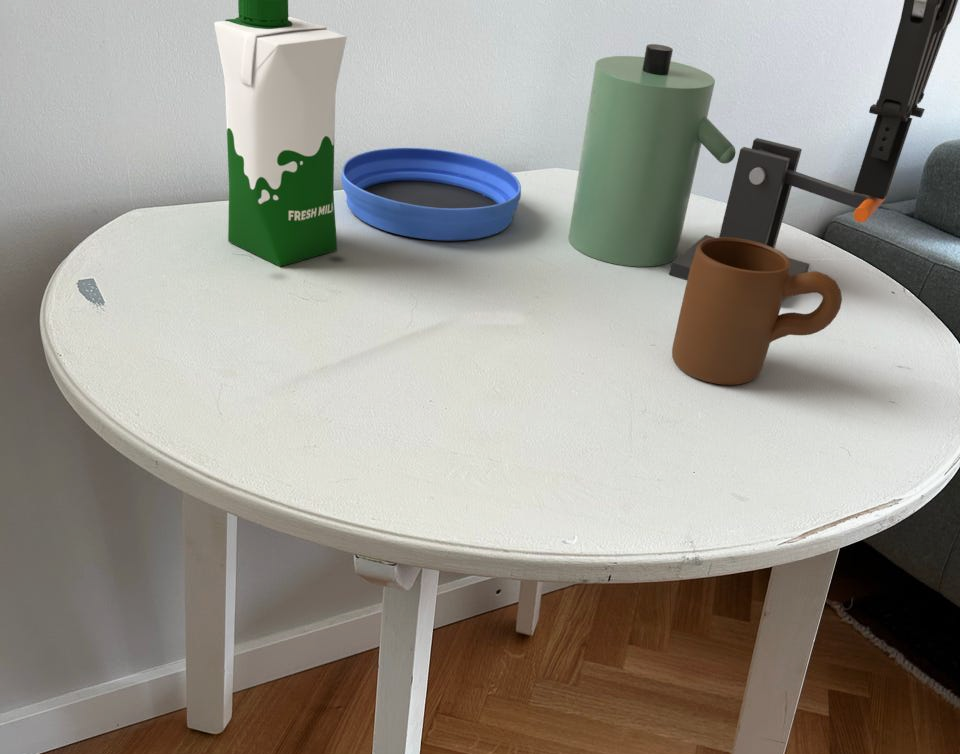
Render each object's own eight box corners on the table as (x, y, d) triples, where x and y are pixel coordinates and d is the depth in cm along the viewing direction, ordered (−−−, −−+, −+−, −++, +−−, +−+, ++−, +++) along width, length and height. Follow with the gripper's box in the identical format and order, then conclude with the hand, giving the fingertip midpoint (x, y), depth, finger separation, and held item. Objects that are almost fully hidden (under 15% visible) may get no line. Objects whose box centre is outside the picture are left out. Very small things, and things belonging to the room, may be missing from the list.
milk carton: (286, 222, 107) (284, -16, 94) (352, 252, 103) (360, 8, 90) (213, 241, 101) (201, -9, 89) (280, 273, 97) (277, 16, 84)
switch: (880, 210, 103) (891, 184, 101) (862, 230, 98) (873, 203, 96) (759, 169, 106) (767, 143, 104) (736, 186, 101) (744, 159, 99)
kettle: (725, 254, 113) (773, 59, 101) (688, 286, 105) (736, 79, 94) (594, 217, 117) (627, 26, 106) (550, 245, 109) (579, 43, 98)
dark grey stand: (806, 275, 110) (843, 151, 103) (778, 306, 103) (815, 176, 96) (703, 246, 114) (731, 124, 106) (668, 274, 107) (696, 145, 99)
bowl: (328, 179, 118) (329, 144, 115) (493, 184, 122) (496, 150, 120) (355, 243, 104) (356, 205, 102) (538, 246, 109) (543, 209, 107)
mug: (816, 369, 94) (852, 259, 88) (811, 408, 88) (849, 293, 82) (676, 338, 95) (702, 229, 89) (662, 374, 90) (689, 260, 84)
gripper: (938, -135, 90) (846, 167, 105) (906, -130, 81) (810, 200, 96) (1034, -119, 88) (925, 187, 103) (1011, -112, 78) (896, 223, 93)
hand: (870, 193), depth 99 cm, fingers closed
